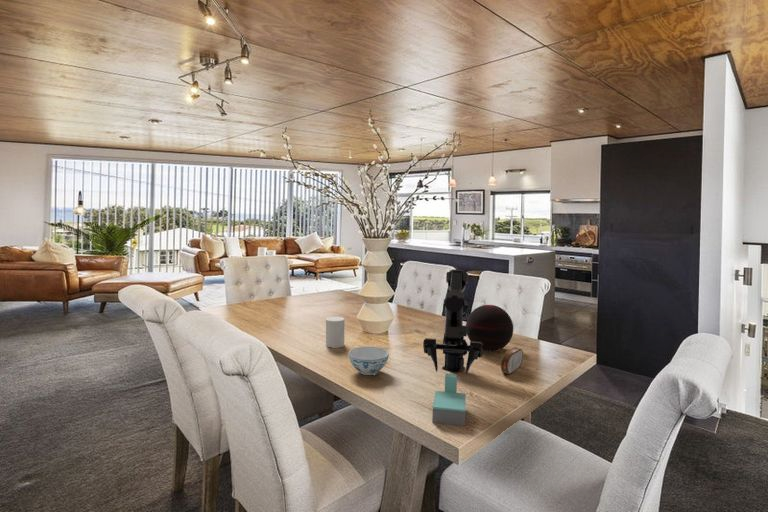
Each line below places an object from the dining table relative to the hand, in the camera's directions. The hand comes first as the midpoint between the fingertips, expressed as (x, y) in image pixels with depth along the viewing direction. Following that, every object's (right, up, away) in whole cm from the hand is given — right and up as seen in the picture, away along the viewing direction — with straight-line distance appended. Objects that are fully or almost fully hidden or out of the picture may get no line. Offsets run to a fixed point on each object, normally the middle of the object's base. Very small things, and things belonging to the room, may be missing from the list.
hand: (451, 372), depth 134 cm
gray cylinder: (-43, -4, +58) cm, 72 cm away
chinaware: (-27, -7, +26) cm, 38 cm away
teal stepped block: (-2, -10, -7) cm, 13 cm away
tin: (+28, -8, +30) cm, 41 cm away
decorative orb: (+25, -5, +54) cm, 60 cm away
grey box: (-2, -11, -9) cm, 14 cm away
